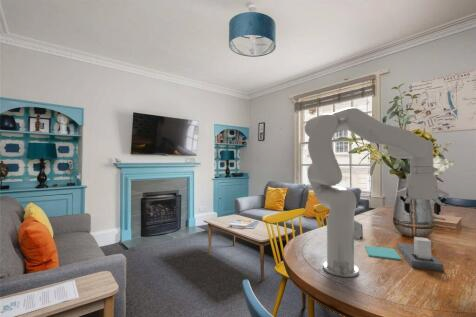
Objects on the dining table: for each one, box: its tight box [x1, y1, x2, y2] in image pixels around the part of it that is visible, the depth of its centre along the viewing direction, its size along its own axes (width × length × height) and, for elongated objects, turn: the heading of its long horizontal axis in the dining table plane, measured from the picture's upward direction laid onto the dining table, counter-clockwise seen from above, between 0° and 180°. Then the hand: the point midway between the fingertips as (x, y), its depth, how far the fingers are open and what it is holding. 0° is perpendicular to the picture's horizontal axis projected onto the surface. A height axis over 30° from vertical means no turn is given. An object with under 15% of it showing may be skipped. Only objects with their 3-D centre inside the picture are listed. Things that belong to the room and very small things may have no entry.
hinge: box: [354, 219, 364, 240], centre depth 135 cm, size 17×5×10 cm, turn 45°
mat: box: [364, 245, 402, 261], centre depth 108 cm, size 12×12×1 cm
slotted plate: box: [396, 242, 444, 272], centre depth 102 cm, size 22×10×2 cm, turn 159°
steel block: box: [413, 236, 432, 261], centre depth 97 cm, size 4×4×10 cm
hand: (422, 213), depth 97 cm, fingers open, 9 cm apart
